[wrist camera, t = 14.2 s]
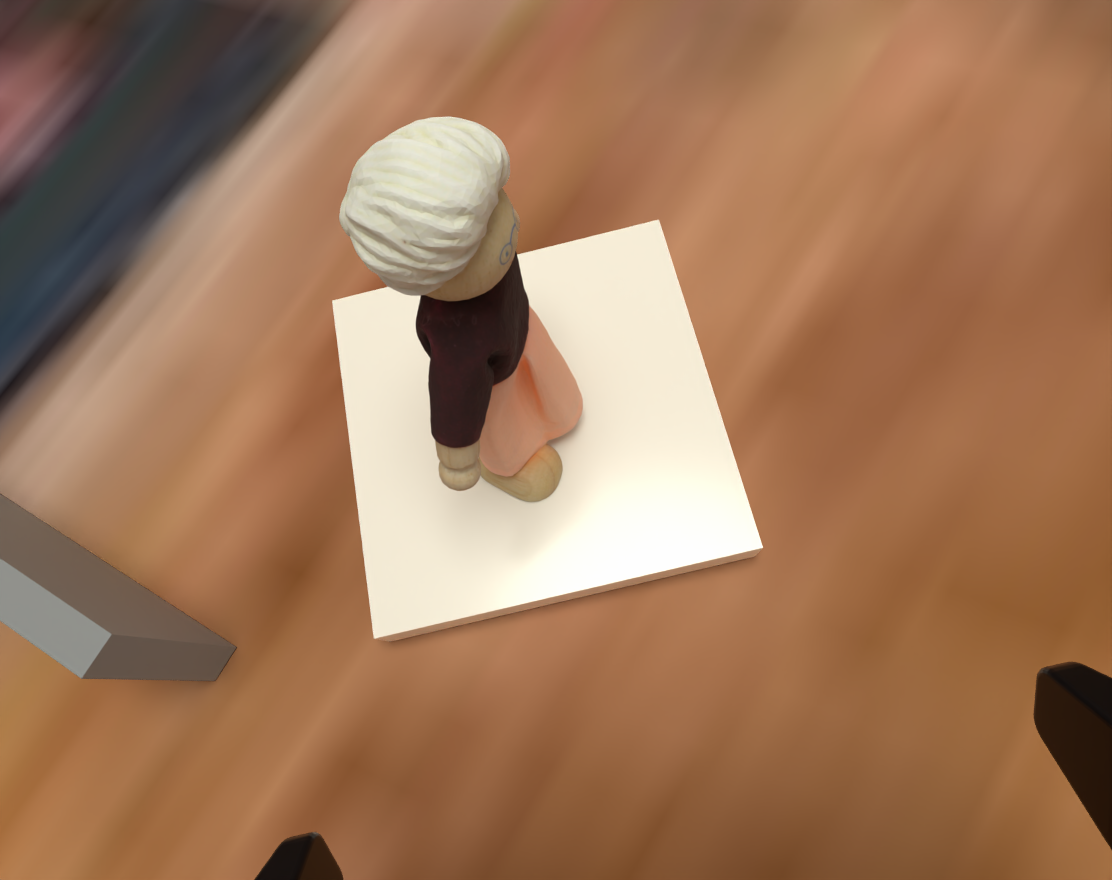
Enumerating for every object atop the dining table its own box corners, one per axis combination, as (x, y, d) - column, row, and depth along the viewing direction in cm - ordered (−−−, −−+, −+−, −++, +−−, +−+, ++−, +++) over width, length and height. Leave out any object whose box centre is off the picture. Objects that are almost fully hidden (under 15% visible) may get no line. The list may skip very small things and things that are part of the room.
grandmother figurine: (595, 527, 22) (548, 341, 10) (473, 539, 23) (289, 371, 11) (574, 307, 25) (516, -46, 13) (464, 320, 25) (308, -13, 13)
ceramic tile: (754, 556, 23) (762, 547, 22) (390, 641, 23) (374, 638, 22) (657, 244, 27) (658, 219, 26) (347, 320, 27) (332, 300, 26)
